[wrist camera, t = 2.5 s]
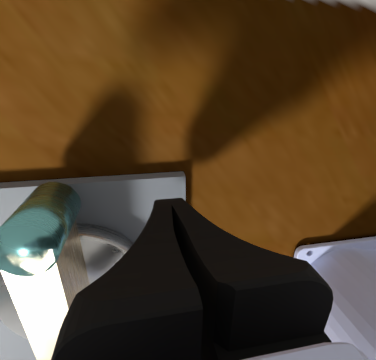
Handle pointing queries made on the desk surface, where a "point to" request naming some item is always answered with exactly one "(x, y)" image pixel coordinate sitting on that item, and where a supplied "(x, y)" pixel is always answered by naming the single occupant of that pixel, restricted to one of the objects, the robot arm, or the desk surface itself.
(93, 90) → the desk surface
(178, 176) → the stand board
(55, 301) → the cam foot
